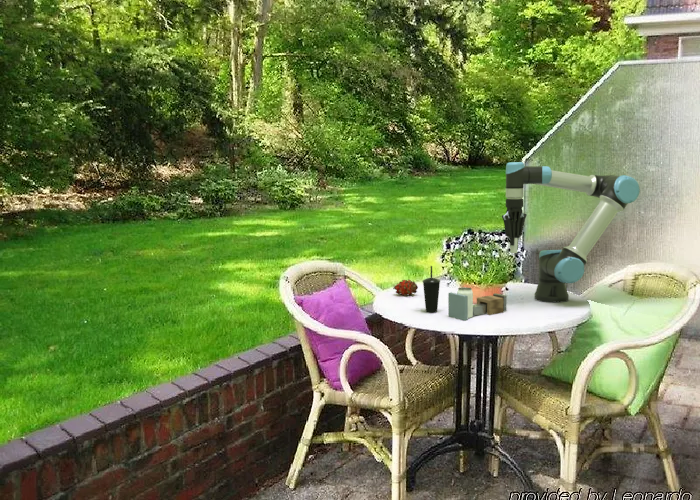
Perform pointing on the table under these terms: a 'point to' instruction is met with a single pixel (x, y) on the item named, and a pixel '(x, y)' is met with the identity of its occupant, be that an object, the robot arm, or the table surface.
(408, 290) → the red pine cone
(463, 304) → the end plate
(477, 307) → the shaft
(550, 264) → the robot arm
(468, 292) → the can
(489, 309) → the tan wooden block
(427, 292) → the drinking cup
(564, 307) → the table surface
